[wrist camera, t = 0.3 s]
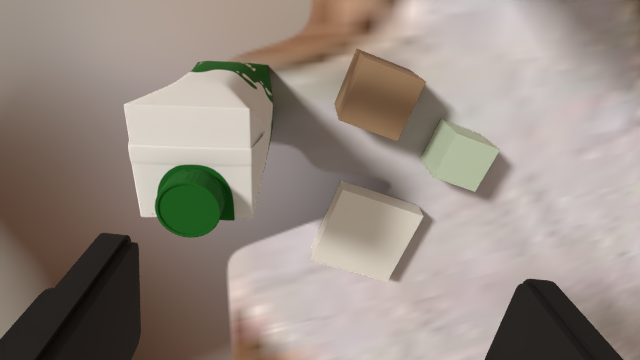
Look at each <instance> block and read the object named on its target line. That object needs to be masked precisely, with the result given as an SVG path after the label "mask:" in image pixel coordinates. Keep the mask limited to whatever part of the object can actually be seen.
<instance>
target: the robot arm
mask: <svg viewBox="0 0 640 360" xmlns="http://www.w3.org/2000/svg"><path fill="white" fill-rule="evenodd" d="M140 322H141V321H140V283H139V249H138V244H137V243H134V242H131V239H130V237H129V236H128V235H119V234H110V233H101V234H100V235H99V236H98V237H97V238H96V239H95V240H94V242H93V243H92V244H91V245H90V246H89V248H88V249H87V250H86V251H85V252H84V253H83V255H82V256H81V257H80V258H79V259H78V261H77V262H76V263H75V264H74V265H73V266H72V268H71V269H70V270H69V271H68V272H67V274H66V275H65V276H64V277H63V278H62V279H61V281H60V282H59V283H58V284H57V285H56V287H55V288H49V289H46V290H45V291H43V292H42V293H41V294H40V295H39V296H38V297H37V298H36V299H35V300H34V302H33V303H32V304H31V305H30V306H29V307H28V308H27V310H26V311H25V312H24V313H23V314H22V315H21V316H20V318H19V319H18V320H17V321H16V322H15V323H14V325H12V327H11V328H10V329H9V330H8V331H7V332H6V334H5V335H4V336H3V337H2V338H1V339H0V360H131V359H132V357H133V355H134V352H135V350H136V348H137V346H138V343H139V339H140V333H141V324H140ZM485 360H623V359H622V358H621V357H620V355H619V354H618V353H617V352H616V351H615V350H614V349H613V348H612V346H611V345H610V344H609V343H608V342H607V341H606V340H605V339H604V338H603V336H602V335H601V334H600V333H599V332H598V331H597V330H596V329H595V327H594V326H593V325H592V324H591V323H590V322H589V321H588V320H587V318H586V317H585V316H584V315H583V314H582V313H581V312H580V311H579V310H578V308H577V307H576V306H575V305H574V304H573V303H572V302H571V301H570V299H569V298H568V297H567V296H566V295H565V294H564V293H563V292H562V290H561V289H560V288H559V287H558V286H557V285H556V284H555V283H554V282H552V281H547V280H537V279H527V280H525V281H524V282H523V284H520V285H518V286H517V288H516V290H515V292H514V295H513V297H512V299H511V301H510V304H509V306H508V308H507V310H506V313H505V315H504V317H503V319H502V322H501V324H500V326H499V328H498V331H497V333H496V335H495V337H494V340H493V342H492V344H491V346H490V349H489V351H488V353H487V355H486V358H485Z"/></svg>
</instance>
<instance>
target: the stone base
mask: <svg viewBox="0 0 640 360" xmlns="http://www.w3.org/2000/svg"><path fill="white" fill-rule="evenodd" d="M423 217H424V216H423V214H422V212H421V210H420V209H419V207H418V206H417V205H414V204H411V203H408V202H405V201H402V200H399V199H396V198H393V197H390V196H387V195H384V194H381V193H378V192H375V191H372V190H369V189H366V188H363V187H360V186H357V185H354V184H351V183H348V182H345V181H342V180H341V181H340V183H339V186H338V188H337V190H336V192H335V195H334V197H333V199H332V201H331V204H330V206H329V208H328V211H327V213H326V215H325V217H324V219H323V222H322V224H321V226H320V228H319V231H318V233H317V235H316V237H315V240H314V242H313V244H312V247H311V261H315V262H318V263H322V264H325V265H329V266H332V267H336V268H339V269H343V270H346V271H350V272H353V273H356V274H360V275H363V276H367V277H370V278H374V279H377V280H381V281H384V282H387V281H388V279H389V278H390V276H391V274H392V272H393V270H394V269H395V267H396V265H397V263H398V261H399V260H400V258H401V256H402V254H403V252H404V251H405V249H406V247H407V245H408V243H409V242H410V240H411V238H412V236H413V234H414V233H415V231H416V229H417V227H418V226H419V224H420V222H421V220H422V218H423Z"/></svg>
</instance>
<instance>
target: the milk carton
mask: <svg viewBox="0 0 640 360" xmlns="http://www.w3.org/2000/svg"><path fill="white" fill-rule="evenodd" d="M124 109H125V116H126V122H127V129H128V134H129V144H128V149H129V156H130V160H131V162H132V168H133V174H134V180H135V185H136V191H137V196H138V202H139V208H140V213H141V216H142V217H157V218H158V219H159V221H160V222H161V224H162V225H163V226H164V227H165V228H166V229H167V230H169V231H170V232H172V233H174V234H176V235H179V236H183V237H199V236H203V235H205V234H207V233H209V232H210V231H212V230H213V229H214V228H215V227H216V225H217V223H218V222H219V220H234V219H252V218H253V215H254V210H255V206H256V202H257V197H258V193H259V189H260V184H261V180H262V176H263V172H264V168H265V164H266V159H267V154H268V149H269V145H270V140H271V135H272V126H273V96H272V90H271V84H270V78H269V71H268V65H261V64H252V63H242V62H222V61H221V62H220V61H203V62H198V63H197V64H196V66H195V67H194V69H193V70H192V71H190V72H189V73H188V74H186V75H185V76H183V77H182V78H181V79H179V80H178V81H176V82H175V83H173V84H171V85H169V86H167V87H164V88H162V89H160V90H157V91H155V92H153V93H150V94H148V95H146V96H144V97H141V98H139V99H136V100H134V101H132V102H129V103H126V104H124Z"/></svg>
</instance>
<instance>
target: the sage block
mask: <svg viewBox="0 0 640 360" xmlns="http://www.w3.org/2000/svg"><path fill="white" fill-rule="evenodd" d="M499 151H500V149H498V148H497V147H496V146H495V145H493V144H492V143H491V142H490V141H488V140H487V139H486V138H485V137H484V136H482V135H481V134H479V133H476V132H474V131H471V130H469V129H466V128H463V127H461V126H458V125H456V124H453V123H450V122H448V121H445V120H443V119H441V120H440V122H439V124H438V125H437V127H436V129H435V131H434V133H433V135H432V137H431V139H430V141H429V143H428V145H427V147H426V149H425V151H424V152H423V154H422V156H421V158H420V159H421V161H422V162H423V164H424V165H425V167H426V168H427V169H428V171H429V172H430V174H431V175H432V177H434V178H437V179H440V180H443V181H445V182H448V183H451V184H454V185H457V186H460V187H463V188H465V189H468V190H471V191H474V192H475V191H476V189H477V187H478V186H479V184H480V182H481V181H482V179H483V177H484V176H485V174H486V173H487V171H488V169H489V168H490V166H491V164H492V163H493V161H494V159H495V158H496V156H497V154H498V153H499Z"/></svg>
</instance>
